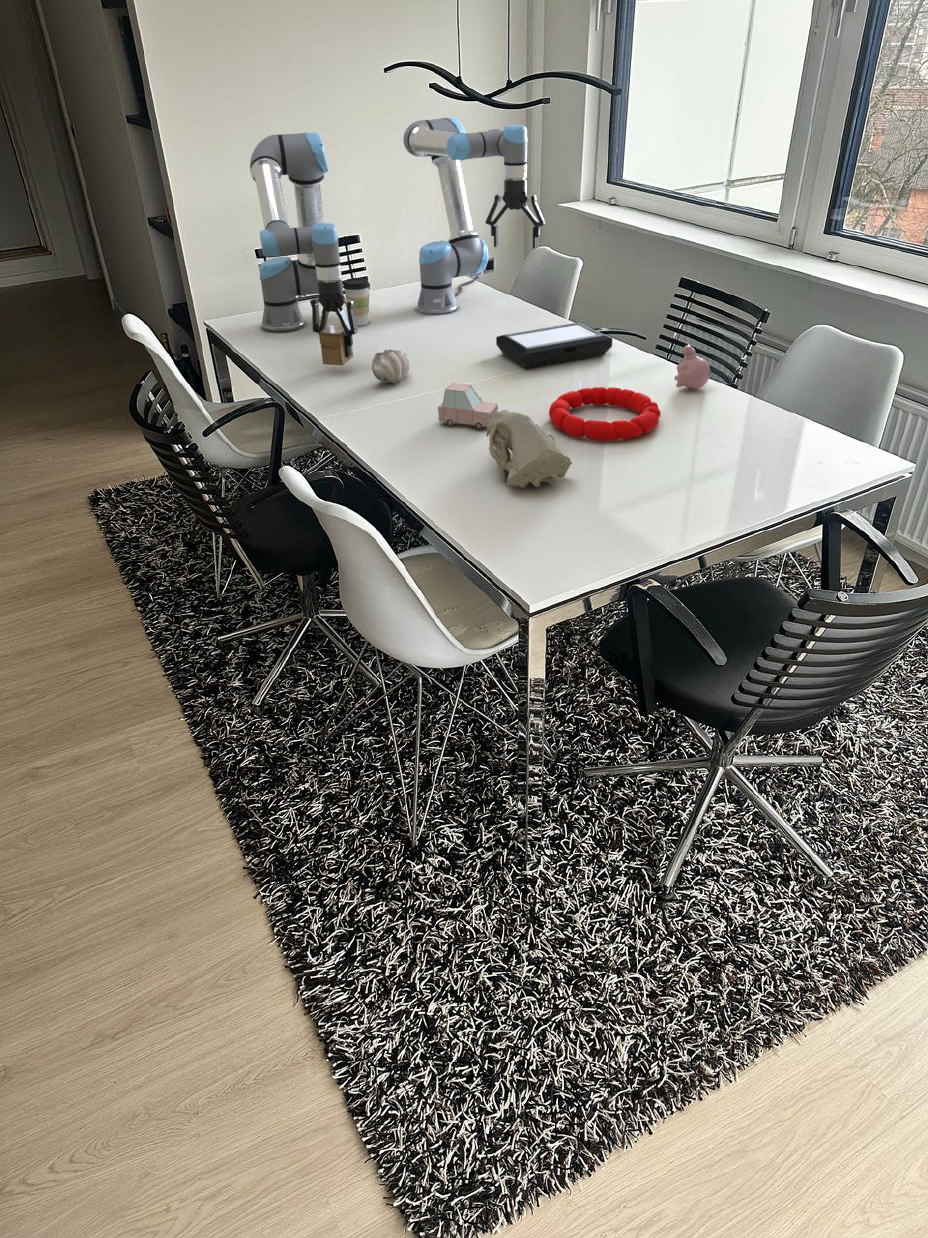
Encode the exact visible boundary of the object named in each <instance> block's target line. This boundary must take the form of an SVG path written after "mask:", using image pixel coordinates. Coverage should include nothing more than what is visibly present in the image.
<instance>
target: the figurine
mask: <svg viewBox="0 0 928 1238" xmlns="http://www.w3.org/2000/svg"><path fill="white" fill-rule="evenodd" d="M682 354H683V358H684V359H683V361H682V362H679V363H678V364H677V365H676V372H677V375H675V376H674V381H675V382H676V381H677V382H676V384H675V386H676V388H681V387H686V388H688V389H693V390H694V389H695V390H696V389H700V388H703V387H704V386H705V385H706V384H707V383H708V382H709V379H710V377H711V367H710V364H709V362H708V361H706V359H704V358H702V357H700V356H697V353H696V350H695V349H694V347H692V345H690V344H686V345H685V346H684V347H683V348H682Z"/></svg>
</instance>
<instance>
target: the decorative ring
mask: <svg viewBox="0 0 928 1238" xmlns="http://www.w3.org/2000/svg"><path fill="white" fill-rule="evenodd" d="M583 405H584V406H586V407H587V406H591V405H593V406H604V405H608V406H614V407H619V408H624V409H628V410H632V411H635V412H636V413H638V414H639V415H637V416H635V417H632V418H631V419H630V420H625V419H624V420H623V419H622V420H614V421H611V422H609V421H607V420H606V421H605V420H593V419H587V420H586V421H585V419H584V418H582V417H579V416H577V415H573V414H571V413H570V410H571V409H579V408H581V407H582V406H583ZM548 416H549V419H550V422H551V423H552V425H553V426H554V427H555V428H556V429H558V430H559V431H561V432H563V433H567V434H568V435H569V436H573V437H576V438H580V439H582V438H583V437H585V438H586V439H587V440H591V441H601V442H602V441H603V442H608V441H609V442H610V441H611V442H612V441H615V442H616V441H618V440H630V439H634V438H638V437H641V436H642V434H647V433H650V432H651V431H653V430H654V429H655V428H656V427H657V426H658V424H659V422H660V421H659V420H660V417H661V410H660V408H659V405H658V403H657V402H656V401H652V399H651V397H649V396H648V395H646V394H644V393H642V392H635V391H634V390H632V389H628V388H624V389H622V388H620V387H613V386H612V387H611V386H610V387H608V388H606V387H604V386H594V387H585V388H584V387H583V388H580V389H578V390H571V391H568V392H565V393H563V394H561V395H560V396H558V397H557V398H556V400H554V401H552V403H551V404H550V407H549V409H548Z"/></svg>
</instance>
